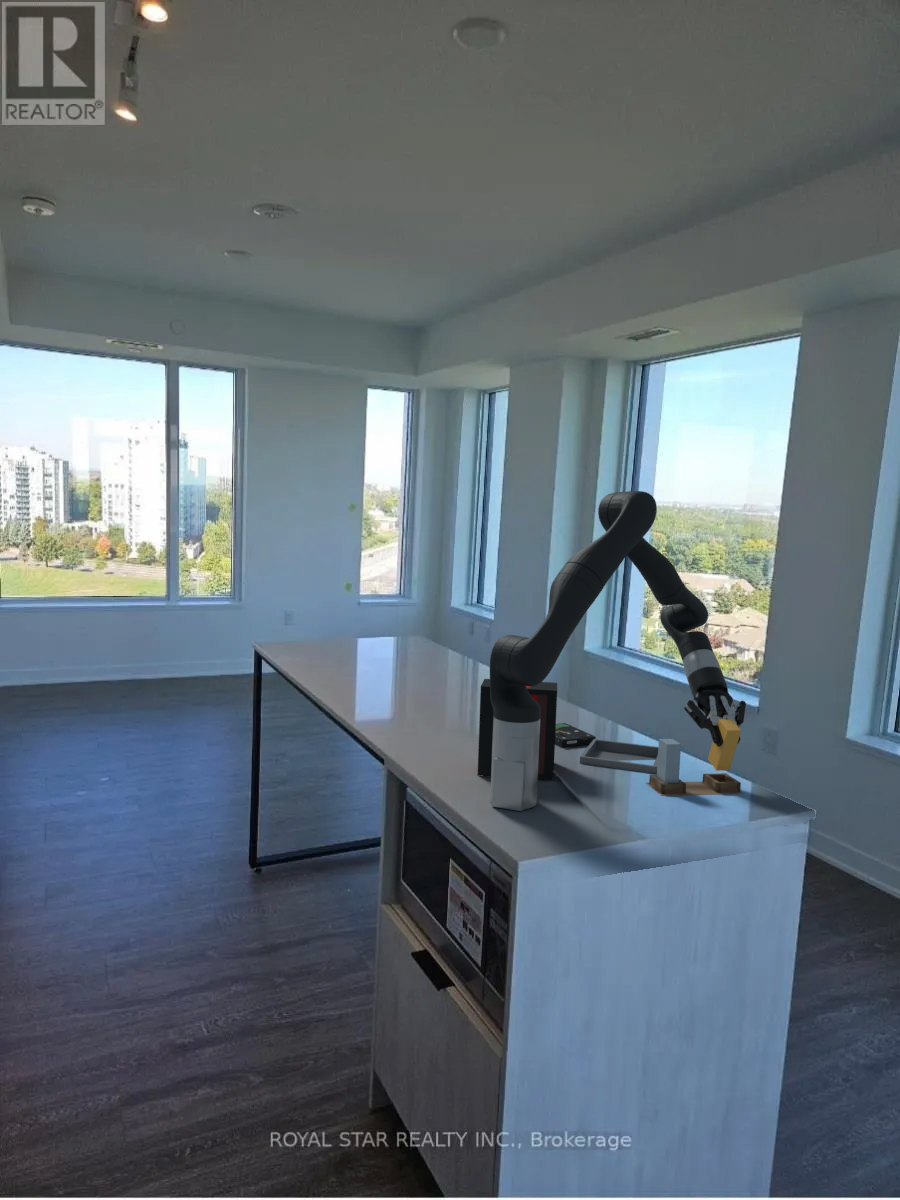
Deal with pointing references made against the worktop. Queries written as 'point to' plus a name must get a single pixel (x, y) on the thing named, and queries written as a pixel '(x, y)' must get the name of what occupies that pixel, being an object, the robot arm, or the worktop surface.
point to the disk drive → (571, 736)
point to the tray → (620, 755)
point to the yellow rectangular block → (725, 745)
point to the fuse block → (698, 786)
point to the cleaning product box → (548, 704)
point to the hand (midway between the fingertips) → (728, 744)
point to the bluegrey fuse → (668, 761)
